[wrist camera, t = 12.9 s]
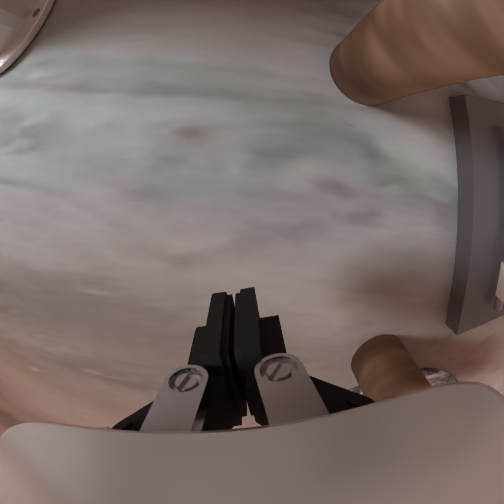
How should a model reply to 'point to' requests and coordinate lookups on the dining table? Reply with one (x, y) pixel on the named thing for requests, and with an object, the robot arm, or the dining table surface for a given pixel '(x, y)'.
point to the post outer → (386, 369)
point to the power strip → (477, 211)
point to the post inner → (419, 48)
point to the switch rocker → (500, 289)
